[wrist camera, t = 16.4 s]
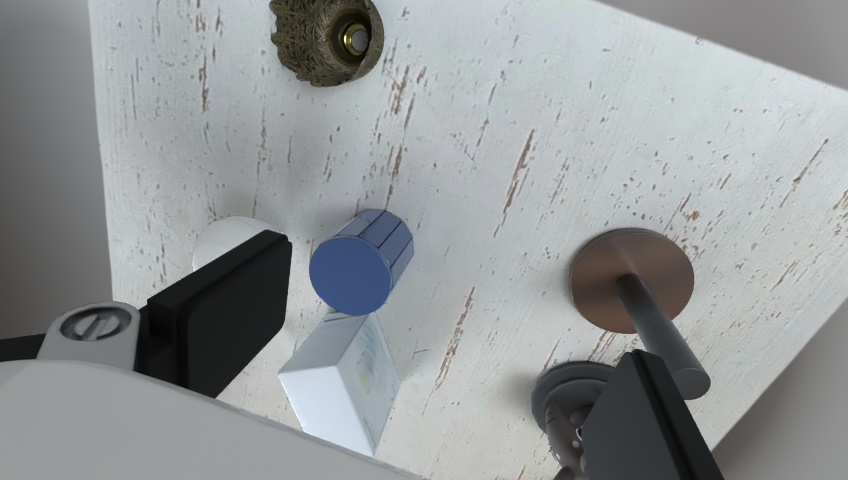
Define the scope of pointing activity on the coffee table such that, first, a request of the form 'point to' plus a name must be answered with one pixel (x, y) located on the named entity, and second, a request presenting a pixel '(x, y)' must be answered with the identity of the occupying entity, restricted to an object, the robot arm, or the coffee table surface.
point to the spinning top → (225, 237)
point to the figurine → (568, 411)
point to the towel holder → (640, 297)
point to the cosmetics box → (343, 382)
